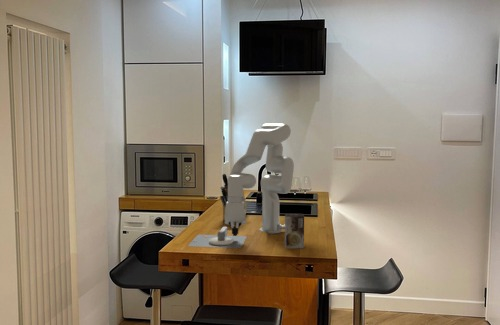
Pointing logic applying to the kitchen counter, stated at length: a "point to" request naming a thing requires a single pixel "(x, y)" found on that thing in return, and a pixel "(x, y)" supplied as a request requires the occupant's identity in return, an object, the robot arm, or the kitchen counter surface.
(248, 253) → the kitchen counter surface
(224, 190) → the knife block
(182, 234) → the kitchen counter surface
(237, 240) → the dial board
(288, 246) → the coffee box
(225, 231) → the dial
